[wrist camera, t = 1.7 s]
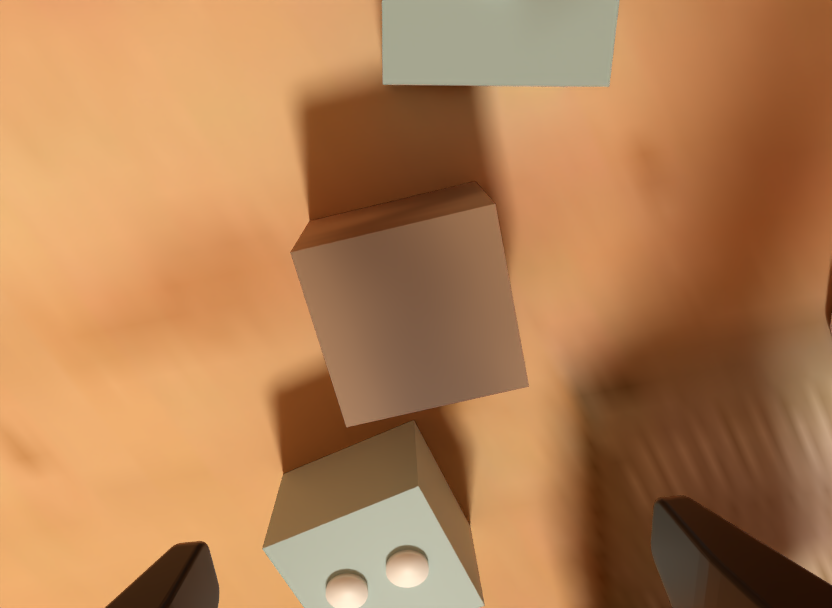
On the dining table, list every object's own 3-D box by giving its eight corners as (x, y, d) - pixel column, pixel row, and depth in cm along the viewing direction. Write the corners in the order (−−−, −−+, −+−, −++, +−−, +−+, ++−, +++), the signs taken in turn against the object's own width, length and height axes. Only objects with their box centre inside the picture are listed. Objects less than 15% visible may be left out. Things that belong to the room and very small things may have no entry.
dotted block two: (413, 417, 22) (418, 490, 18) (469, 523, 24) (485, 610, 20) (283, 471, 22) (260, 553, 18) (348, 570, 24) (340, 664, 20)
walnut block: (474, 180, 19) (495, 203, 15) (503, 332, 21) (529, 386, 17) (310, 219, 19) (290, 252, 15) (354, 366, 21) (346, 427, 17)
